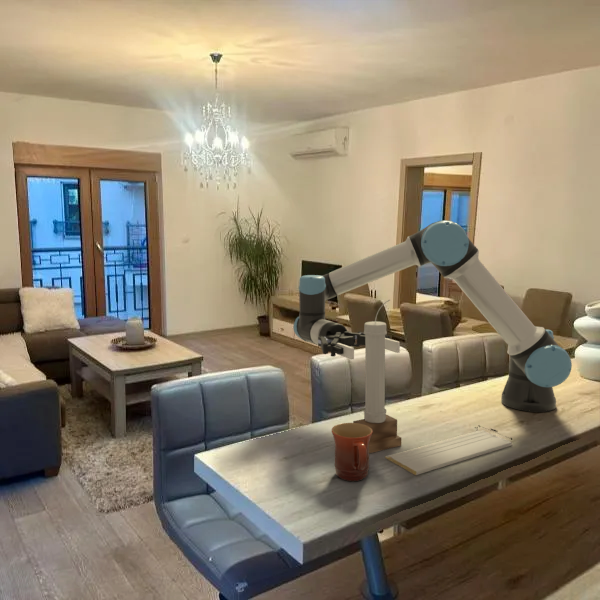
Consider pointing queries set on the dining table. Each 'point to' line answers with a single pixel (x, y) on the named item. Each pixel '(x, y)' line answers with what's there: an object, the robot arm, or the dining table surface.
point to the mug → (351, 450)
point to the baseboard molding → (448, 451)
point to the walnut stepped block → (382, 434)
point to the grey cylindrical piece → (375, 371)
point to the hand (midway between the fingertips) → (376, 350)
